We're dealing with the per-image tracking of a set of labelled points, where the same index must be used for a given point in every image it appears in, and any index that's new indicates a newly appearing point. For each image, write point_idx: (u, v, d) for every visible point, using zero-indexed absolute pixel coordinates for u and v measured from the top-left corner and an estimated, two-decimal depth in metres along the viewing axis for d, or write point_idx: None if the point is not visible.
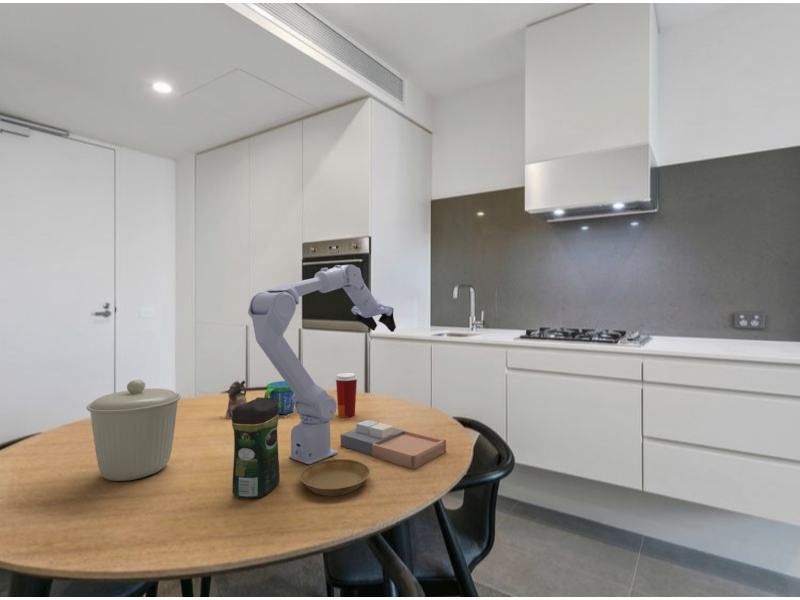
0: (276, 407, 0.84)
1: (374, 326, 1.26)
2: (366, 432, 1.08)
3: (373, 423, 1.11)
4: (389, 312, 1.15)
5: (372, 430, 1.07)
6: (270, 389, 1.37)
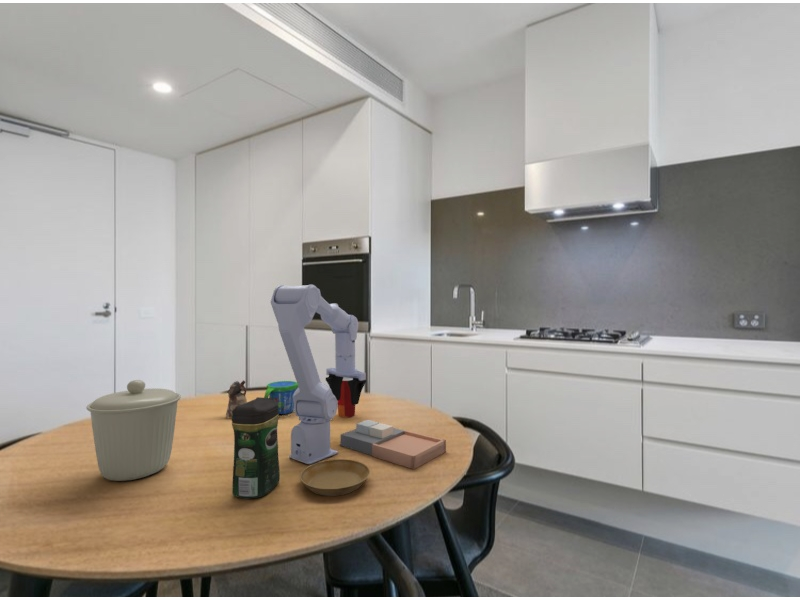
0: (276, 407, 0.84)
1: (337, 397, 1.19)
2: (366, 432, 1.08)
3: (373, 423, 1.11)
4: (362, 377, 1.12)
5: (372, 430, 1.07)
6: (270, 389, 1.37)
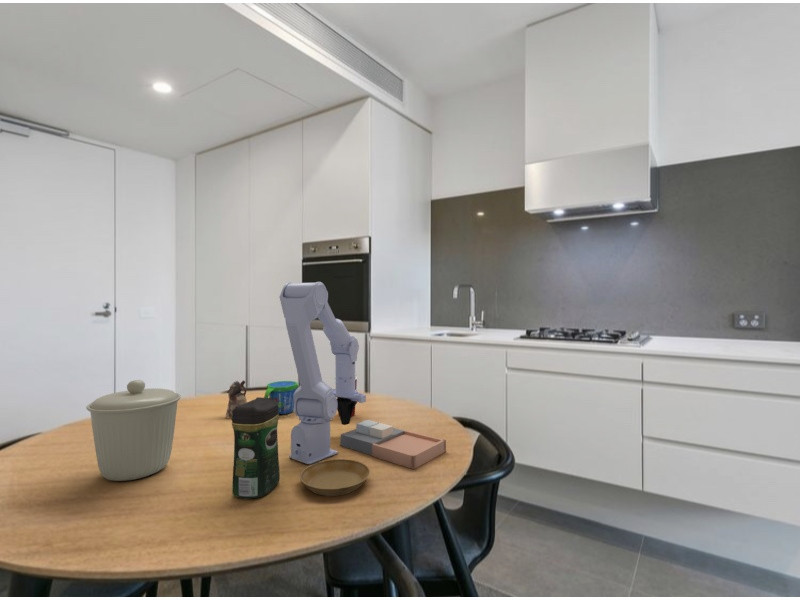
0: (276, 407, 0.84)
1: None
2: (366, 432, 1.08)
3: (373, 423, 1.11)
4: (362, 399, 1.12)
5: (372, 430, 1.07)
6: (270, 389, 1.37)
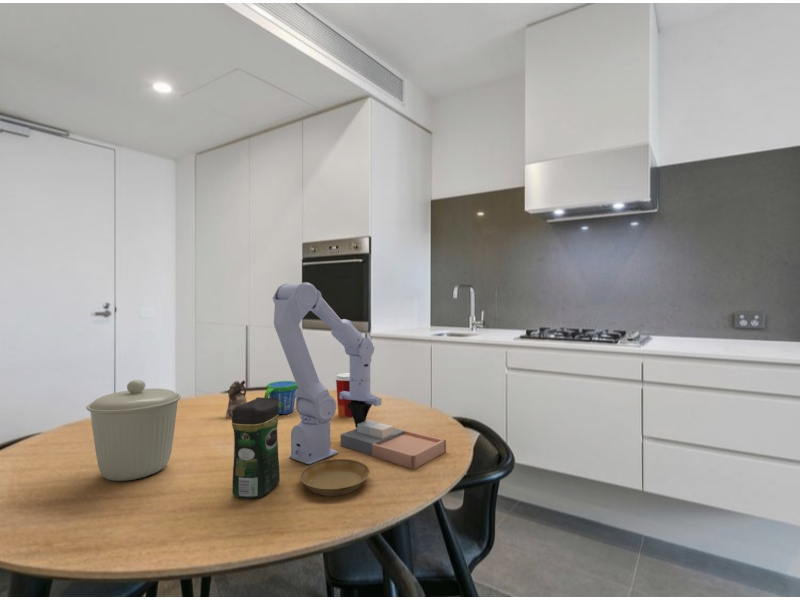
0: (276, 407, 0.84)
1: None
2: (367, 432, 1.08)
3: (374, 423, 1.11)
4: (378, 402, 1.08)
5: (372, 430, 1.07)
6: (270, 389, 1.37)
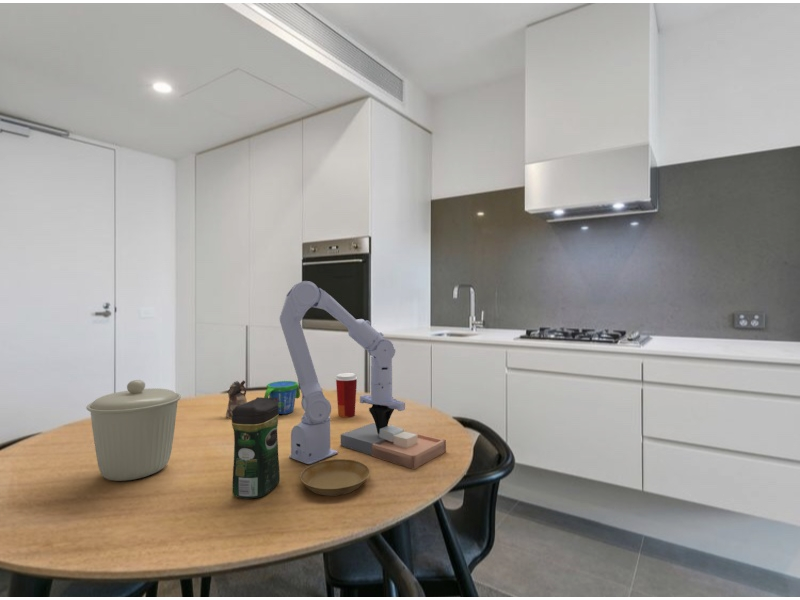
0: (276, 407, 0.84)
1: None
2: (390, 439, 1.03)
3: (397, 430, 1.06)
4: (401, 407, 1.03)
5: (396, 439, 1.02)
6: (270, 389, 1.37)
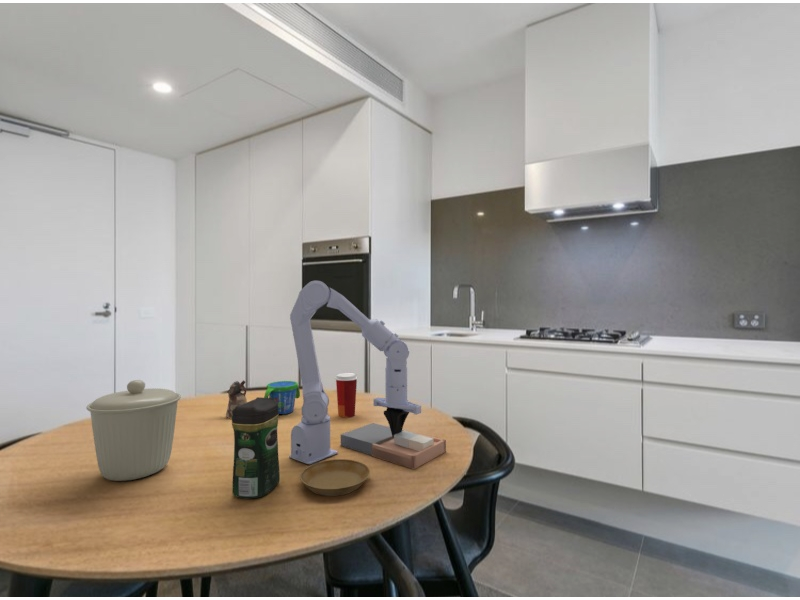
0: (276, 407, 0.84)
1: None
2: (405, 445, 1.00)
3: (412, 435, 1.02)
4: (417, 410, 1.00)
5: (412, 442, 0.99)
6: (270, 389, 1.37)
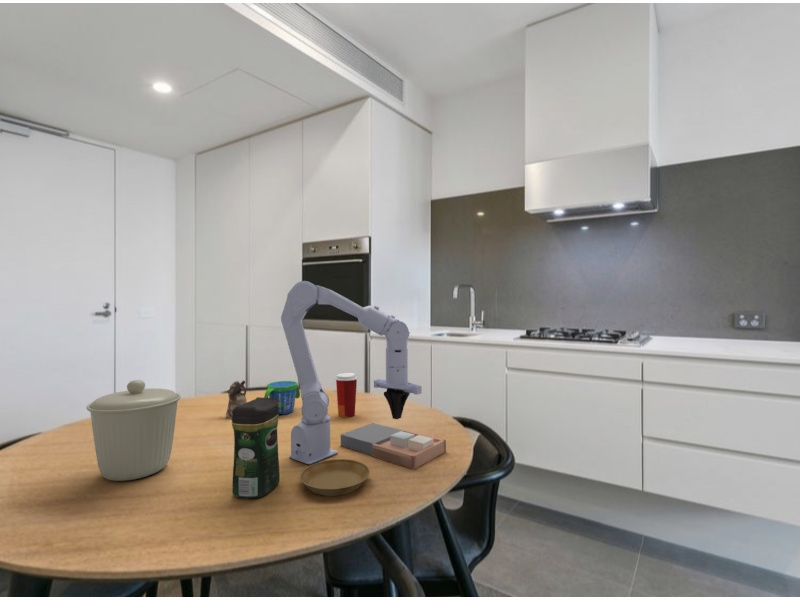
0: (276, 407, 0.84)
1: None
2: (402, 445, 1.01)
3: (408, 435, 1.03)
4: (418, 390, 1.00)
5: (412, 443, 0.99)
6: (270, 389, 1.37)
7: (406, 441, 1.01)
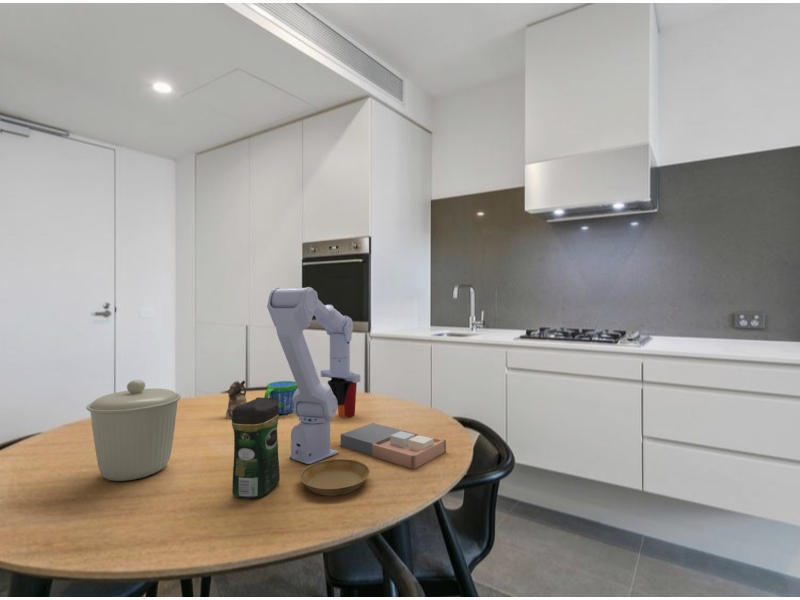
0: (276, 407, 0.84)
1: None
2: (402, 445, 1.01)
3: (408, 435, 1.03)
4: (356, 379, 1.10)
5: (412, 443, 0.99)
6: (270, 389, 1.37)
7: (406, 441, 1.01)
